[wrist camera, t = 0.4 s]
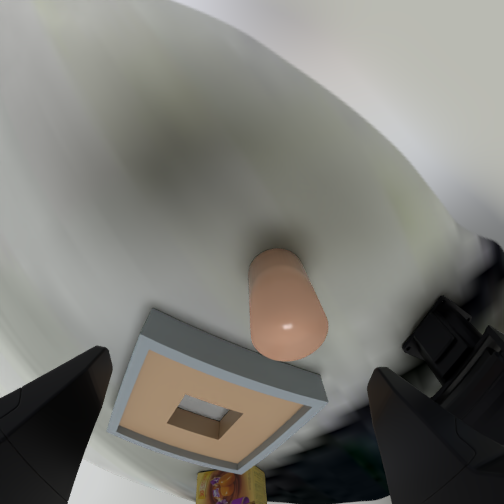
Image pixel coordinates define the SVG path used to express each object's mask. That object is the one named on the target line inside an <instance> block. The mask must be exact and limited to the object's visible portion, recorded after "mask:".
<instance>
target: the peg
mask: <svg viewBox="0 0 504 504" xmlns="http://www.w3.org/2000/svg"><path fill="white" fill-rule="evenodd" d="M248 282H249V305H250V328H251V339H252V343H253V345H254V347H255V348H256V349H257V351H258V352H259V353H261V354H262V355H263V356H265V357H267V358H269V359H272V360H276V361H294V360H299V359H302V358H304V357H306V356H308V355H310V354H312V353H313V352H314V351H316V350H317V349H318V348H319V347H320V346H321V345H322V343H323V342H324V340H325V338H326V336H327V333H328V320H327V317H326V315H325V312H324V310H323V308H322V306H321V304H320V301H319V299H318V297H317V295H316V293H315V291H314V288H313V286H312V284H311V282H310V280H309V278H308V276H307V273H306V271H305V269H304V267H303V265H302V263H301V261H300V259H299V258H298V257H297V256H296V255H295V254H294V253H292V252H291V251H288V250H285V249H280V248H275V249H269V250H266V251H264V252H262V253H260V254H259V255H258V256H257V257H256V258H255V259H254V260H253V261H252V263H251V265H250V267H249V272H248Z"/></svg>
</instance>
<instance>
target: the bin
mask: <svg viewBox="0 0 504 504" xmlns="http://www.w3.org/2000/svg"><path fill="white" fill-rule="evenodd" d="M185 394H186V395H189V396H192V397H195V398H197V399H200V400H203V401H206V402H209V403H212V404H215V405H218V406H221V407H224V408H227V409H230V410H229V411H228V413H227V414H226V415H225V416H224V417H223V418H222V419H221V421H220V422H219V421H216V420H212V419H209V418H206V417H203V416H200V415H197V414H194V413H191V412H189V411H186V410H183V409H180V408H178V407H177V406H178V405H179V403H180V402H181V400H182V399H183V397H184V395H185ZM327 403H328V399H327V396H326V392H325V389H324V386H323V383H322V379H321V376H320V375H318V374H315V373H312V372H309V371H306V370H303V369H300V368H297V367H294V366H291V365H288V364H286V363H283V362H280V361H276V360H272V359H269V358H267V357H265V356H263V355H261V354H258V353H256V352H253V351H250V350H248V349H245V348H243V347H240V346H238V345H235V344H233V343H230V342H228V341H225V340H223V339H221V338H218V337H216V336H213V335H211V334H209V333H206V332H204V331H202V330H199V329H197V328H195V327H193V326H190V325H188V324H186V323H184V322H182V321H179V320H177V319H175V318H173V317H171V316H169V315H166V314H164V313H162V312H160V311H158V310H156V309H154V308H152V310H151V312H150V314H149V316H148V318H147V320H146V322H145V325H144V327H143V329H142V331H141V333H140V335H139V338H138V340H137V343H136V346H135V348H134V351H133V354H132V356H131V359H130V362H129V365H128V367H127V370H126V373H125V376H124V379H123V382H122V384H121V387H120V390H119V393H118V396H117V399H116V402H115V405H114V408H113V412H112V415H111V418H110V421H109V424H108V428H107V431H106V432H108V433H111V434H113V435H115V436H117V437H120V438H122V439H124V440H127V441H129V442H131V443H134V444H136V445H139V446H142V447H144V448H147V449H150V450H152V451H155V452H158V453H161V454H164V455H167V456H170V457H173V458H176V459H179V460H183V461H186V462H190V463H193V464H197V465H201V466H204V467H208V468H212V469H217V470H221V471H226V472H230V473H235V474H240V475H242V474H243V473H245V472H246V471H247V470H249V469H250V468H252V467H253V466H254V465H256V464H257V463H258V462H260V461H261V460H262V459H264V458H265V457H266V456H267V455H269V454H270V453H271V452H273V451H274V450H275V449H276V448H278V447H279V446H280V445H281V444H283V443H284V442H285V441H286V440H287V439H289V438H290V437H291V436H292V435H293V434H294V433H296V432H297V431H298V430H299V429H300V428H301V427H303V426H304V425H305V424H306V423H307V422H308V421H309V420H310V419H311V418H313V417H314V416H315V415H316V414H317V413H318V412H319V411H320V410H321V409H322V408H323V407H324V406H325V405H326V404H327Z"/></svg>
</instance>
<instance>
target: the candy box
mask: <svg viewBox="0 0 504 504" xmlns="http://www.w3.org/2000/svg"><path fill="white" fill-rule="evenodd" d="M196 504H267V499H266V487H265V475H264V472H263V471H261V470H260V469H259V468H258V467H256V466H255V465H254V466H253V467H252V468H250V469H249V470H247V471H246V472H245V473H243V474H242V475H240V474H235V473H230V472H226V471H221V470H214V471H207V472H201V473H198V476H197V491H196Z"/></svg>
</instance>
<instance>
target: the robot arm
mask: <svg viewBox="0 0 504 504" xmlns="http://www.w3.org/2000/svg"><path fill="white" fill-rule="evenodd" d="M442 301H443V302H442ZM471 319H472V317H471V315H469V314H468V313H467V312H466V311H464V310H463V309H462V308H460V307H459V306H458V305H456V304H455V303H453V302H452V301H451V300H449V299H448V298H447V297H445V296H441V297H440V298H439V299H438V300H437V302H436V303H435V305H434V306H433V307H432V309H431V310H430V312H429V313H428V314H427V316H426V317H425V318H424V320H423V321H422V322H421V324H420V325H419V326H418V328H417V329H416V330H415V331H414V333H413V334H412V335H411V336H410V338H409V339H408V340H407V341H406V343H405V344H404V345H403V347H402V349H403V351H404V352H405V353H408V354H410V355H412V356H415V357H417V358H420V359H422V360H425V362H426V363H427V364H428V366H429V367H430V369H431V370H432V372H433V373H434V375H435V376H436V377H437V379H438V380H439V382H440V383H441V385H442V387H441V388H440V390H439V391H438V392H437V393H436V394H435V395H434V396H433V397H431V398H429V397H428V396H426V395H425V394H423V393H422V392H421V391H419V390H418V389H417V388H415V387H414V386H412V385H411V384H410V383H408V382H407V381H406V380H404V379H403V378H401V377H400V376H399V375H397V374H396V373H395V372H393V371H392V370H390V369H389V368H388V367H377V368H375V369H374V371H373V374H372V376H371V378H370V380H369V383H368V386H367V391H368V397H369V403H370V409H371V416H372V422H373V427H374V431H375V435H376V439H377V442H378V446H379V450H380V454H381V458H382V462H383V466H384V470H385V474H386V478H387V483H388V487H389V492H390V496H391V501H392V504H504V334H503V333H501V332H500V331H498V330H496V329H495V328H493V327H492V326H490V325H488V326H487V328H486V329H485V332H484V334H483V335H481V333H480V332H479V331H478V330H477V329H476V328H475V327H474V326H473V325H472V324H471V323H470V321H471ZM112 370H113V367H112V362H111V358H110V354H109V350H108V349H107V348H106V347H102V346H95V347H93V348H91V349H89V350H87V351H86V352H84V353H82V354H80V355H78V356H77V357H75V358H73V359H71V360H69V361H68V362H66V363H64V364H62V365H60V366H59V367H57V368H55V369H53V370H51V371H50V372H48V373H46V374H44V375H42V376H41V377H39V378H37V379H35V380H33V381H32V382H30V383H28V384H26V385H24V386H23V387H22V388H19V389H17V390H15V391H13V392H11V393H9V394H7V395H6V396H4V397H2V398H0V504H68V502H67V501H68V500H69V497H70V493H71V490H72V487H73V484H74V481H75V478H76V475H77V472H78V469H79V466H80V463H81V461H82V458H83V455H84V452H85V449H86V447H87V444H88V441H89V439H90V436H91V434H92V431H93V428H94V426H95V423H96V421H97V418H98V416H99V413H100V411H101V408H102V405H103V402H104V398H105V395H106V391H107V388H108V384H109V381H110V377H111V374H112Z"/></svg>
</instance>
